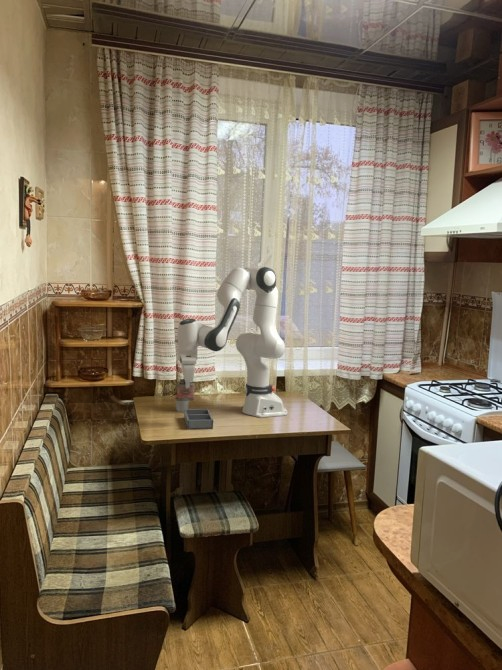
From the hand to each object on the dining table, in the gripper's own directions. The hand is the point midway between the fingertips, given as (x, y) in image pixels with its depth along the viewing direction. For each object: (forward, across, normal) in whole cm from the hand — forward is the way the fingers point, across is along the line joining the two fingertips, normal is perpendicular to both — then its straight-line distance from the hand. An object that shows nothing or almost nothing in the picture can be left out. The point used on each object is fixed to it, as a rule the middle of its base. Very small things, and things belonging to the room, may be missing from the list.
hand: (186, 386), depth 234 cm
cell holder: (+18, -1, +5) cm, 19 cm away
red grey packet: (+7, 0, -1) cm, 7 cm away
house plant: (+19, -19, 0) cm, 27 cm away
